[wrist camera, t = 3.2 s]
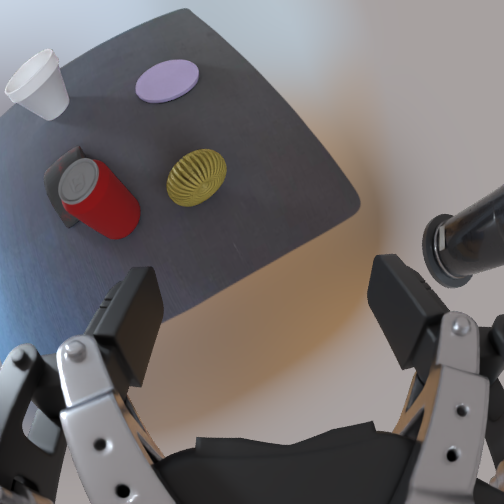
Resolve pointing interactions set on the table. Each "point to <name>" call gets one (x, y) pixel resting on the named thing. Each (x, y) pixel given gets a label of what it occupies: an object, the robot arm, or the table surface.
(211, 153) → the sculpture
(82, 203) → the beverage can
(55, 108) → the cup
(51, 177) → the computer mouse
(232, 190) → the table surface
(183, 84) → the saucer
